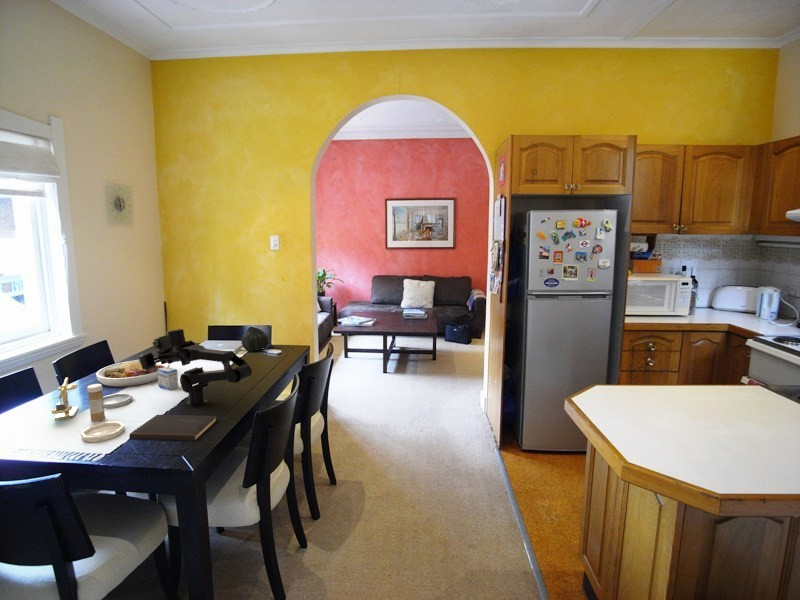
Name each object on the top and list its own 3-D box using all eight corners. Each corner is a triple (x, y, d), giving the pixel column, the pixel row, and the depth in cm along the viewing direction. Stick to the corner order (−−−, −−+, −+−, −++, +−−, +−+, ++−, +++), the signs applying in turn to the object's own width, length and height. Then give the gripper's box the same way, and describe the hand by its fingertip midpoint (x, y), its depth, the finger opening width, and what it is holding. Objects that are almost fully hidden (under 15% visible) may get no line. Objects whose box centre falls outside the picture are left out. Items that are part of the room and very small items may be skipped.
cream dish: (128, 433, 152) (128, 428, 151) (88, 445, 143) (87, 440, 142) (117, 423, 159) (116, 418, 159) (77, 434, 150) (77, 429, 150)
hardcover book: (157, 420, 163) (157, 414, 163) (217, 421, 162) (216, 415, 162) (129, 440, 148) (128, 434, 147) (195, 442, 147) (194, 435, 146)
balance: (62, 407, 173) (59, 376, 171) (81, 405, 176) (77, 373, 174) (51, 426, 157) (46, 391, 155) (71, 422, 160) (67, 388, 158)
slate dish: (136, 402, 179) (135, 398, 179) (102, 411, 170) (101, 406, 170) (125, 395, 187) (125, 391, 187) (93, 403, 178) (92, 399, 178)
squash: (271, 343, 253) (265, 321, 260) (244, 347, 246) (239, 325, 253) (268, 354, 264) (263, 333, 271) (242, 358, 257) (238, 337, 263)
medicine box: (158, 387, 196) (156, 369, 195) (167, 384, 200) (166, 366, 199) (169, 390, 193) (168, 371, 191) (178, 387, 197) (177, 369, 195)
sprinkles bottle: (95, 417, 164) (91, 383, 162) (108, 416, 165) (104, 383, 163) (88, 422, 160) (84, 387, 158) (101, 422, 160) (97, 387, 158)
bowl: (81, 384, 200) (79, 368, 199) (139, 365, 228) (137, 351, 227) (130, 392, 191) (128, 375, 189) (183, 372, 219) (182, 357, 217)
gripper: (189, 331, 187) (164, 335, 193) (150, 341, 170) (124, 345, 176) (194, 356, 188) (169, 359, 194) (156, 368, 171) (130, 371, 177)
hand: (149, 358), depth 185 cm, fingers open, 9 cm apart
